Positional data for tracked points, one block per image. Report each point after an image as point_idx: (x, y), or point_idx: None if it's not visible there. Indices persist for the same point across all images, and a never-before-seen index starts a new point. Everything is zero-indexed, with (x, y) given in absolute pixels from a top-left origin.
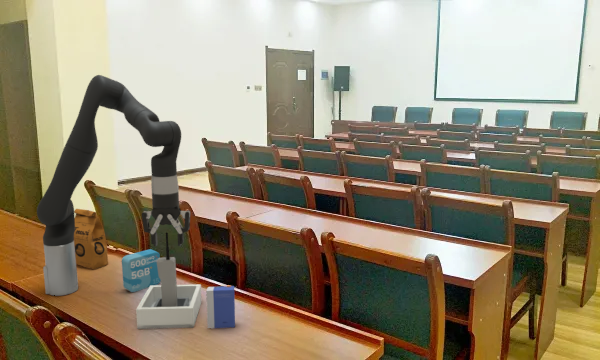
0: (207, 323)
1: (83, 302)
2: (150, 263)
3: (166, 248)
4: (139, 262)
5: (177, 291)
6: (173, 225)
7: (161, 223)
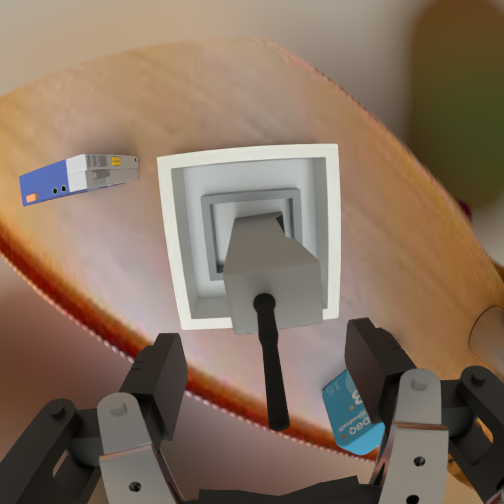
0: (132, 156)
1: (459, 286)
2: (355, 415)
3: (274, 333)
4: None
5: None
6: (155, 470)
7: (349, 494)
